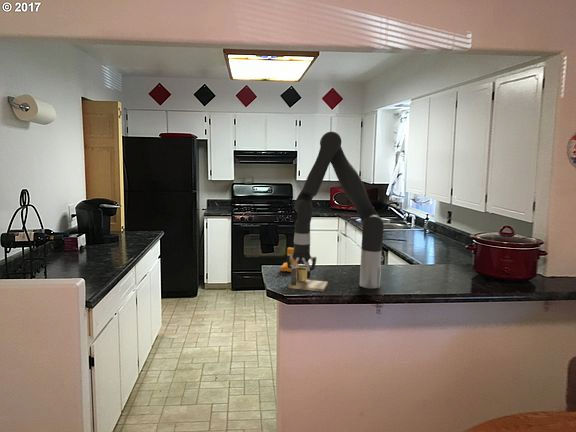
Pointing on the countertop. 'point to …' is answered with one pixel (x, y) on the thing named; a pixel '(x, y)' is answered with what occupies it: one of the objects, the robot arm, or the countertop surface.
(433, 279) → the countertop surface
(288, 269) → the bracket
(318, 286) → the maple board
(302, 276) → the brass collar
